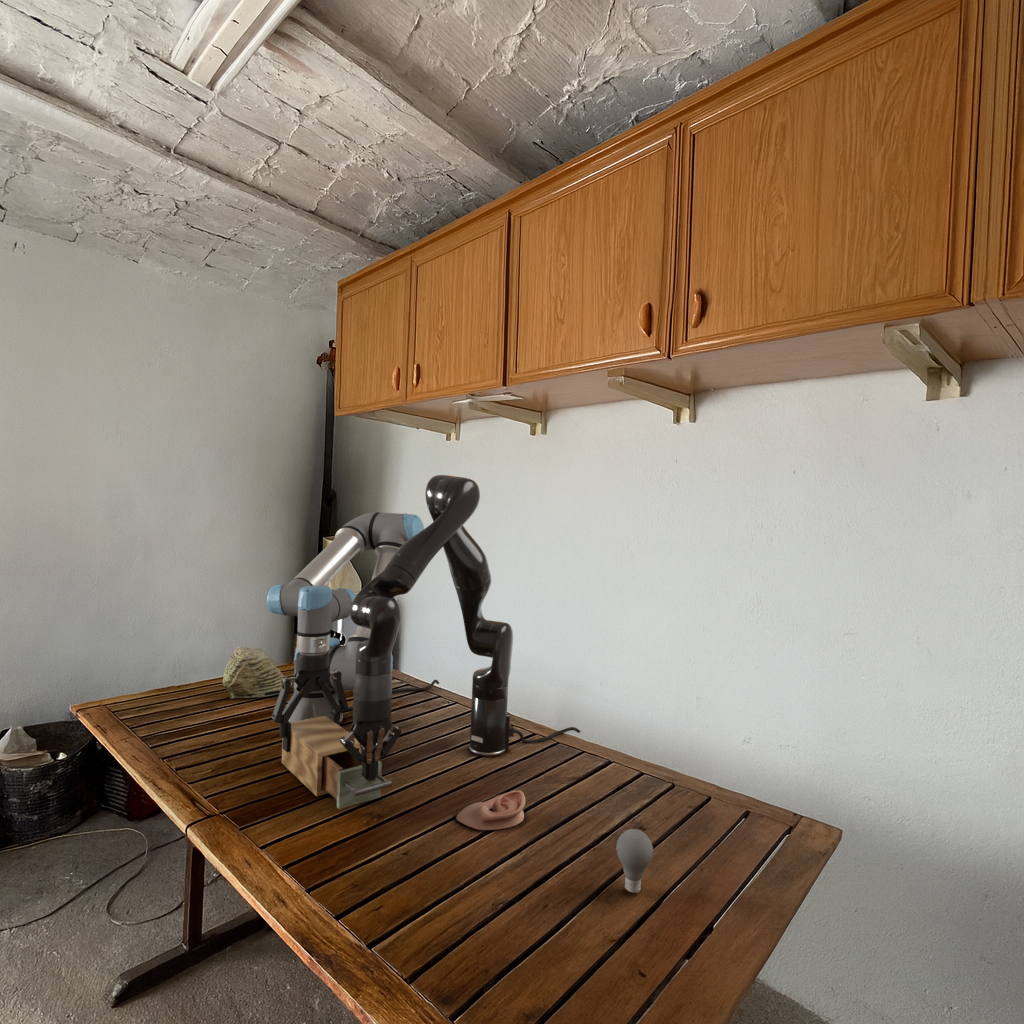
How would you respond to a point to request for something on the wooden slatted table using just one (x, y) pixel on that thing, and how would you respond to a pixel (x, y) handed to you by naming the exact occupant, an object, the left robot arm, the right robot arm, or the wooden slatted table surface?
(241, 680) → the fossil
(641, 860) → the light bulb
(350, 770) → the drawer
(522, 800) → the anatomical model
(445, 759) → the wooden slatted table surface
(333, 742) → the cabinet
